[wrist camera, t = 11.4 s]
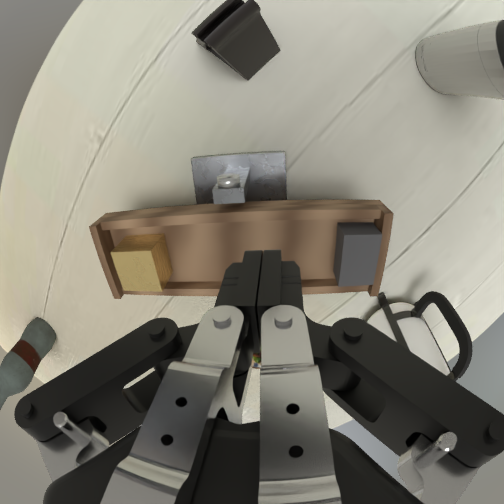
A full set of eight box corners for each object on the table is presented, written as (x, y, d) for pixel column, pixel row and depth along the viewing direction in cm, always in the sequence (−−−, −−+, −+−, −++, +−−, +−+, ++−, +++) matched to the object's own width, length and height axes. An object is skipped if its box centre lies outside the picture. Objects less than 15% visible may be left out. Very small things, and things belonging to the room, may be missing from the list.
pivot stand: (284, 151, 34) (291, 167, 24) (286, 269, 42) (291, 318, 33) (193, 157, 35) (165, 176, 25) (210, 271, 43) (195, 318, 34)
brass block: (163, 233, 29) (150, 250, 26) (172, 271, 32) (162, 291, 28) (126, 235, 30) (110, 252, 26) (136, 271, 32) (123, 290, 29)
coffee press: (426, 325, 48) (477, 445, 22) (359, 353, 52) (387, 484, 26) (422, 262, 40) (510, 405, 14) (340, 296, 44) (382, 469, 18)
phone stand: (280, 50, 27) (286, 23, 16) (247, 81, 29) (237, 65, 19) (228, 12, 24) (211, -26, 14) (196, 42, 27) (165, 15, 16)
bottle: (30, 320, 56) (-21, 394, 30) (39, 312, 53) (-18, 394, 27) (51, 343, 60) (6, 419, 34) (62, 337, 57) (13, 422, 31)
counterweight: (372, 222, 27) (382, 234, 24) (365, 269, 30) (373, 284, 27) (337, 222, 27) (344, 235, 25) (333, 271, 30) (338, 286, 28)
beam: (379, 200, 27) (393, 213, 24) (368, 276, 32) (377, 295, 29) (106, 213, 30) (89, 226, 26) (126, 280, 35) (114, 298, 31)
